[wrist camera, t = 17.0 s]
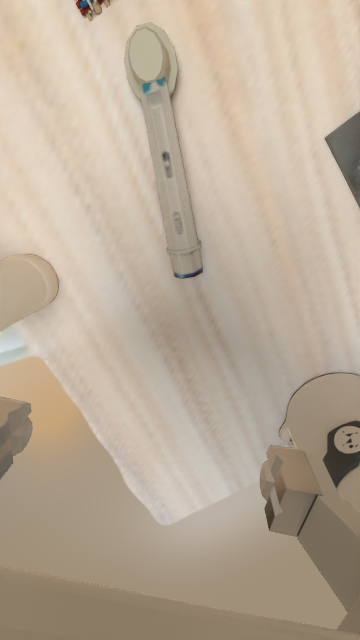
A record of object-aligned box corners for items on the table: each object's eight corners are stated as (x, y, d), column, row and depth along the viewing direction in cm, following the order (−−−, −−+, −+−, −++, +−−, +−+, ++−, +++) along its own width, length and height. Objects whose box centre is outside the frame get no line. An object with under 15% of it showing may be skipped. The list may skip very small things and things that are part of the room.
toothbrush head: (168, 281, 36) (105, 12, 24) (172, 265, 41) (123, 42, 30) (208, 275, 35) (164, -7, 23) (207, 259, 41) (171, 27, 29)
